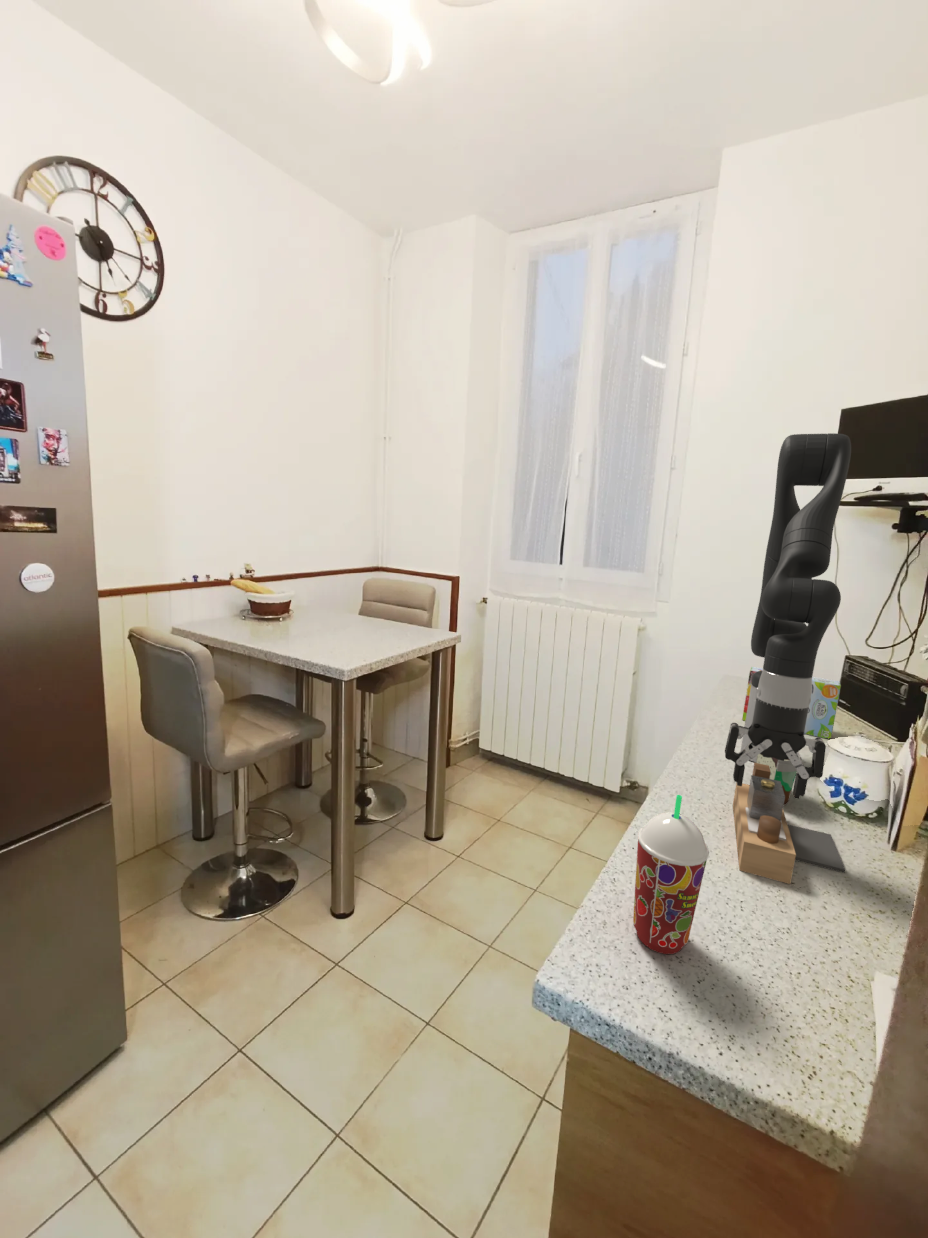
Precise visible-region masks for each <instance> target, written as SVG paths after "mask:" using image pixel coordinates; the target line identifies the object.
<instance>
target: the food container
mask: <svg viewBox="0 0 928 1238" xmlns="http://www.w3.org/2000/svg"><path fill="white" fill-rule="evenodd" d="M797 755H798V756H799V758H800V760H801V761H802V762H803V760H802V757H801V756H802V755H801V753H800V751H798V752H797ZM755 763H759V764H764V765H769V768H770V771H771V773H770V779H772V780H777V781H780V782H781V785H782V788H783V791H784V795H785V800H784V806H786V805H787V804H788V803H789V801H790V797H791V793H792V791H793V788H794V782H795V777H796V773H798V771H797V770H796V768H795V767H794V766H793V764H792V762H791V761H790V759H786V760H784V761H782V760H778V759H776V758H767V757H763V756H762V755H761V754H758V755H757V758H756V762H755Z"/></svg>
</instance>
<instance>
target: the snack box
mask: <svg viewBox="0 0 928 1238" xmlns="http://www.w3.org/2000/svg"><path fill="white" fill-rule="evenodd" d="M762 670H763V667H754V666H751V667H750V670H749V674H748V678H747V679H748V680H747V685H746V687H747V688H746V694H745V699H744V705H743V712H742V719H741V720H742V721H744V722H745V720H746V714H747V708H748V702H749V696H750V689H751V682H752V677H753V674H754V673H755V672H758V671H762ZM841 687H842V685H841V681H839V680H833V679H827V678H823V677H816V676H812V692H811V702H810V704H809V709H808V714H807V719H806V725H805V731H804V735H809V736H814V737H816V738H821V739H822V738H823V739H826V738H828V739H827V740H830V739H829V738H831V739H832V735H833V731H834V724H835V721H836V714H837V709H838V704H839V699H840V693H841Z"/></svg>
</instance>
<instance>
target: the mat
mask: <svg viewBox="0 0 928 1238" xmlns="http://www.w3.org/2000/svg"><path fill="white" fill-rule="evenodd" d="M787 825H788V829H789V832H790V836H791V839H792V843H793V846H794V850H795V853H796V857H795V861H796V862H800V863H805V864H808V865H813V866H816V867H818V868H819V867H820V868H822V869H823V868H824V869H827V870H831V871H836V872H838V873H843V874H845V873H846V867H845V865H844V863H843V860H842V858H841V855H840V853H839V851H838V849H837V848H838V847H837V846H836V843H835V841H834V839H833V836H832V834H830V833H827V832H822V831H817V830H814V829H809V828H804V827H801V826H796V825H793V824H790V823H789V824H788V823H787Z"/></svg>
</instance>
